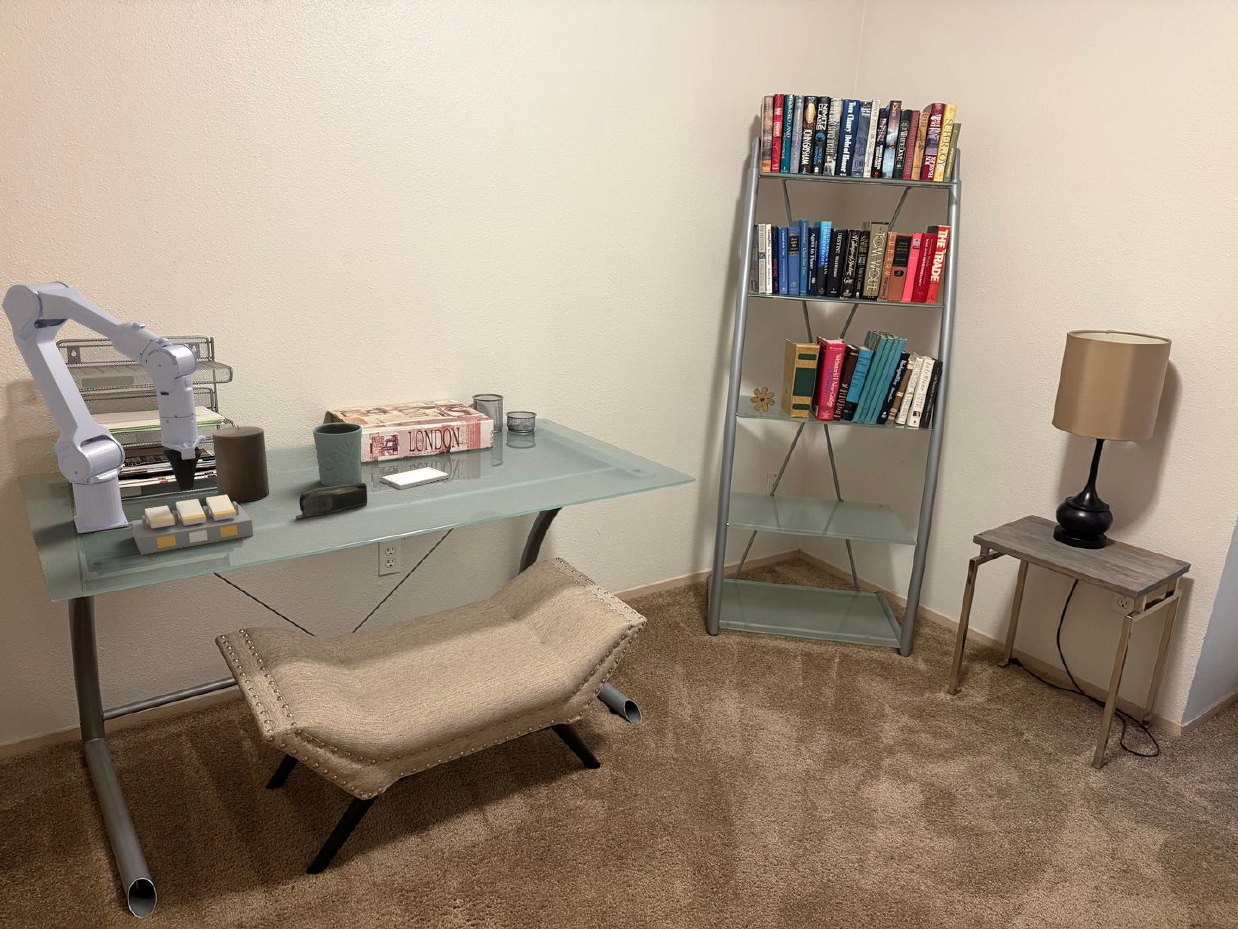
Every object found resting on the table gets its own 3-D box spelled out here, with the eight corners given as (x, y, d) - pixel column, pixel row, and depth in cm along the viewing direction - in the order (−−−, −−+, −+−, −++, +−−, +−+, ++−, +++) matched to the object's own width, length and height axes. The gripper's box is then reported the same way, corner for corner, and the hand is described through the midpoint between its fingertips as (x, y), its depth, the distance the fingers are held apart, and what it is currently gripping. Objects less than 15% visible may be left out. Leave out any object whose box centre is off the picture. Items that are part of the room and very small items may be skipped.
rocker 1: (145, 514, 153) (144, 508, 153) (167, 510, 155) (167, 505, 155) (151, 528, 148) (151, 522, 148) (174, 524, 150) (174, 518, 150)
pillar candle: (265, 501, 175) (259, 429, 171) (213, 503, 173) (206, 430, 169) (272, 487, 184) (267, 418, 180) (223, 489, 182) (216, 420, 178)
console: (133, 536, 154) (129, 510, 153) (240, 519, 164) (238, 494, 163) (141, 555, 146) (137, 527, 145) (253, 535, 157) (251, 509, 155)
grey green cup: (357, 472, 196) (354, 420, 193) (370, 484, 188) (367, 430, 185) (311, 478, 191) (307, 425, 188) (322, 490, 183) (319, 435, 180)
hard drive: (427, 466, 199) (379, 476, 190) (448, 474, 193) (400, 484, 185) (428, 473, 199) (380, 483, 191) (448, 481, 194) (400, 491, 185)
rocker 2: (176, 506, 156) (175, 501, 155) (198, 503, 158) (197, 498, 157) (184, 525, 151) (183, 520, 150) (206, 522, 153) (205, 516, 153)
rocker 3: (206, 502, 159) (205, 497, 158) (227, 499, 161) (227, 494, 160) (214, 520, 154) (214, 515, 153) (236, 517, 156) (236, 512, 155)
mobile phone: (362, 479, 176) (290, 492, 165) (369, 483, 174) (297, 496, 163) (362, 503, 177) (291, 517, 167) (370, 506, 175) (298, 521, 165)
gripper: (210, 420, 148) (218, 495, 152) (194, 404, 159) (202, 475, 163) (164, 424, 144) (174, 502, 148) (151, 408, 155) (160, 480, 159)
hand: (186, 488), depth 155 cm, fingers closed
